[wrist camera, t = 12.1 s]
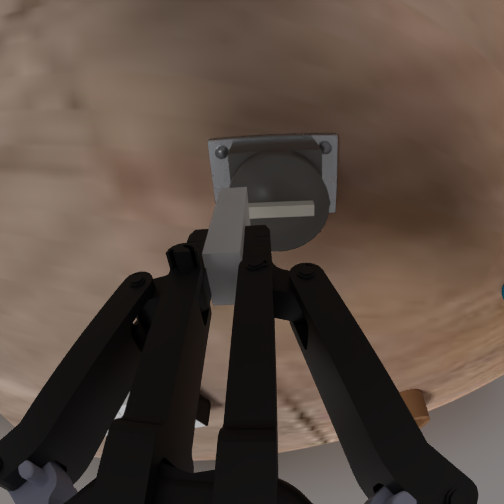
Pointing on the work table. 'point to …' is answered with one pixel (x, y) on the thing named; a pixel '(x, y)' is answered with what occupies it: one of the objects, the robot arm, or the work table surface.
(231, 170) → the knob
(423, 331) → the work table surface
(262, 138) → the mounting plate
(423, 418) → the bracket
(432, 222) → the work table surface
